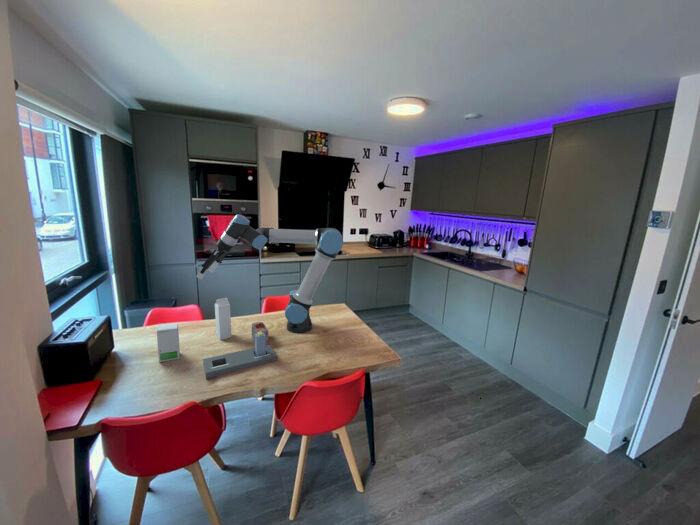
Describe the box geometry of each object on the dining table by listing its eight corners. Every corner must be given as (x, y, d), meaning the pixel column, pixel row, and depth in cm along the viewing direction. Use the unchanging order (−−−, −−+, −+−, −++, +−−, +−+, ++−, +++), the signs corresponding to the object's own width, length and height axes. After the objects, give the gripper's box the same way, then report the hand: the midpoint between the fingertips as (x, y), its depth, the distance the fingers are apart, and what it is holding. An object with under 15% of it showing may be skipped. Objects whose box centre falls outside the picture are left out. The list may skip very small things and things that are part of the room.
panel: (269, 349, 145) (269, 344, 144) (276, 361, 135) (276, 355, 134) (203, 365, 130) (203, 358, 129) (206, 379, 120) (205, 372, 119)
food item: (270, 344, 150) (270, 327, 148) (254, 348, 146) (254, 330, 144) (264, 334, 162) (263, 317, 160) (249, 336, 158) (248, 320, 156)
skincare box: (158, 362, 130) (155, 331, 127) (160, 355, 136) (157, 325, 132) (180, 358, 134) (177, 328, 130) (180, 352, 139) (178, 322, 136)
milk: (231, 337, 156) (230, 299, 152) (220, 340, 152) (218, 301, 148) (227, 333, 161) (225, 295, 156) (216, 336, 157) (214, 298, 152)
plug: (263, 354, 139) (263, 330, 137) (265, 358, 136) (265, 333, 133) (255, 356, 137) (254, 332, 135) (257, 360, 134) (256, 335, 131)
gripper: (229, 234, 156) (208, 265, 159) (210, 240, 132) (186, 276, 135) (241, 242, 158) (220, 272, 160) (224, 250, 133) (200, 285, 136)
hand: (204, 274), depth 148 cm, fingers open, 13 cm apart
